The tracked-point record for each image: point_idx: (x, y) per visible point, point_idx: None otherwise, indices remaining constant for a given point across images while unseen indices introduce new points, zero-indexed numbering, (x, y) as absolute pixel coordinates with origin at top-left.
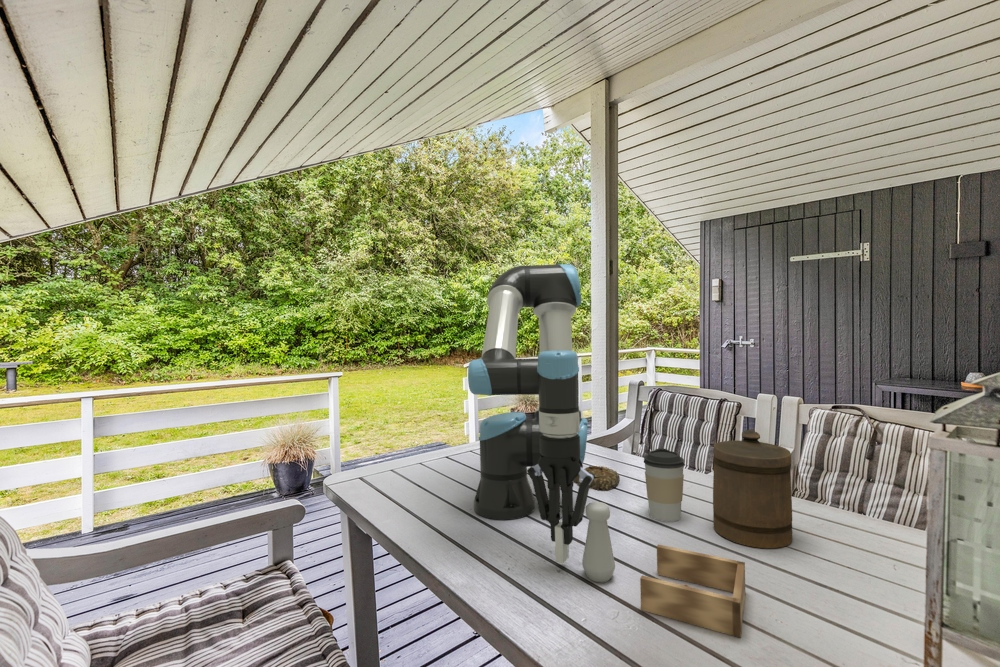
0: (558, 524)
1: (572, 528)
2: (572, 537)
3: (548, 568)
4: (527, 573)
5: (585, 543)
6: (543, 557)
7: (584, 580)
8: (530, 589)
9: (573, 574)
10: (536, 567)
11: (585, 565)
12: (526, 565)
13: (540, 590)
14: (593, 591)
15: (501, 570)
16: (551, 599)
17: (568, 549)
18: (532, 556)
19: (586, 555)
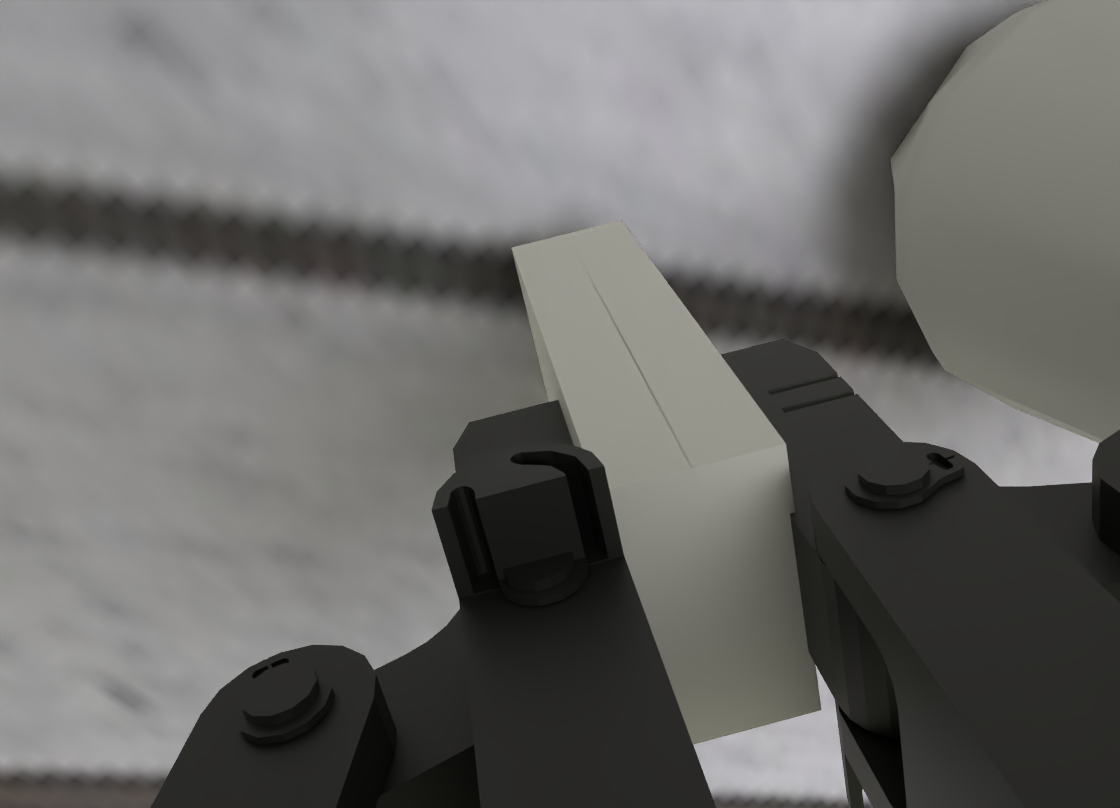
0: (654, 637)
1: (901, 440)
2: (832, 376)
3: (453, 415)
4: (351, 632)
5: (1103, 385)
6: (211, 253)
7: (912, 343)
8: None
9: (756, 325)
10: (332, 489)
11: (1013, 406)
12: (212, 534)
13: None
14: (1064, 440)
15: (103, 765)
16: (802, 755)
17: (646, 256)
18: (83, 332)
19: (1092, 439)
